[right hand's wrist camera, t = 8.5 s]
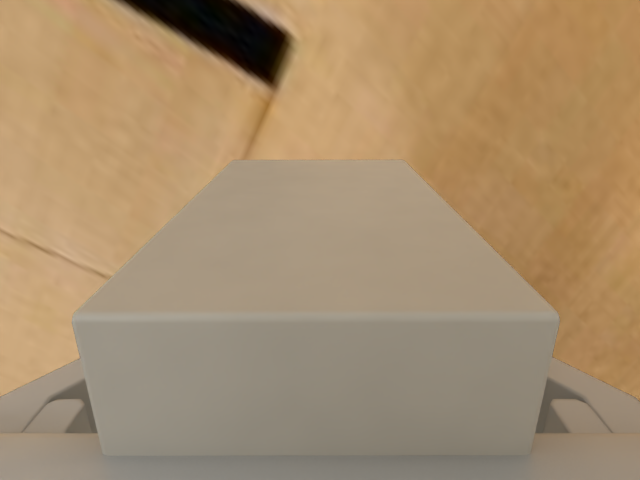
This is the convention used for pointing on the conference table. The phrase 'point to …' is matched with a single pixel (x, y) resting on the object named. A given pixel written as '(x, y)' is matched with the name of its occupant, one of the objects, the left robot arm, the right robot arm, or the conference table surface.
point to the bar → (316, 324)
